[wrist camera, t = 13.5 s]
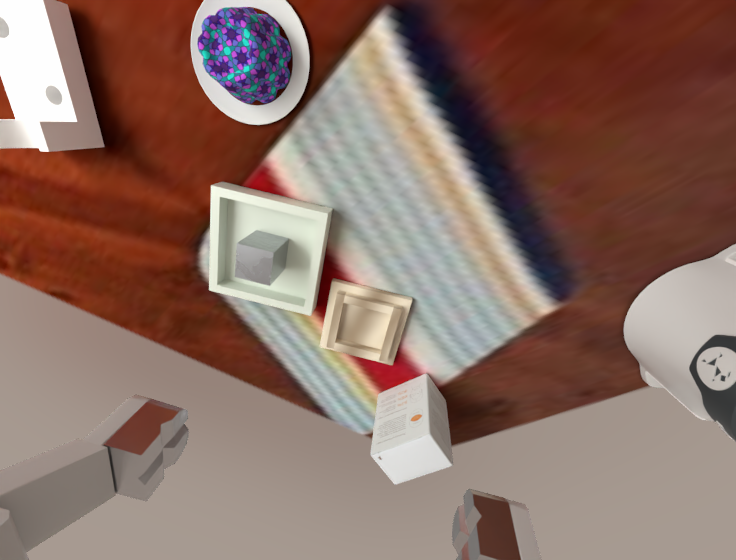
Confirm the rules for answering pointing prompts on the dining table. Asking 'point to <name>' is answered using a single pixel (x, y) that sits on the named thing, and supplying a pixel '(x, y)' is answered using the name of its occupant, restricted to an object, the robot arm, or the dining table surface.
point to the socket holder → (364, 321)
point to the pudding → (250, 57)
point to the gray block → (261, 257)
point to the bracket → (44, 79)
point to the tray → (275, 216)
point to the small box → (411, 430)
